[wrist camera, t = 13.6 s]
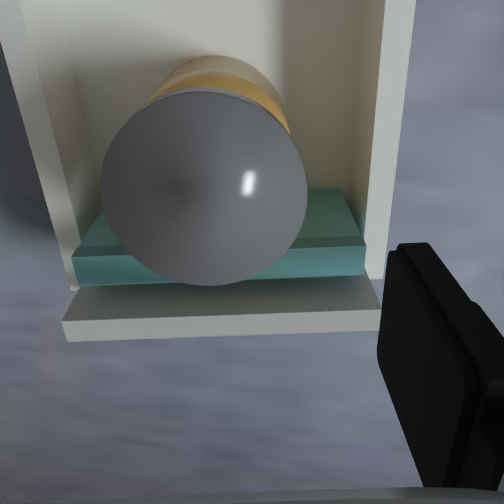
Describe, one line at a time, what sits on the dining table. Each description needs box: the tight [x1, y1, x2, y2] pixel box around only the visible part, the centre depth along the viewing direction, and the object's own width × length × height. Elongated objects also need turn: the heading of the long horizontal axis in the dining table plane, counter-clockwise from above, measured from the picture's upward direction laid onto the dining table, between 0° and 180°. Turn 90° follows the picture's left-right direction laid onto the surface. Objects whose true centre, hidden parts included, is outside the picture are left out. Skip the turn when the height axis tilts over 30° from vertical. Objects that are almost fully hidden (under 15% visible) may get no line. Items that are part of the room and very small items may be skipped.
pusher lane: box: [0, 0, 416, 342], centre depth 18 cm, size 15×14×8 cm
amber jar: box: [100, 56, 308, 286], centre depth 18 cm, size 6×6×8 cm
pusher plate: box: [71, 188, 366, 286], centre depth 20 cm, size 1×11×6 cm, turn 92°
